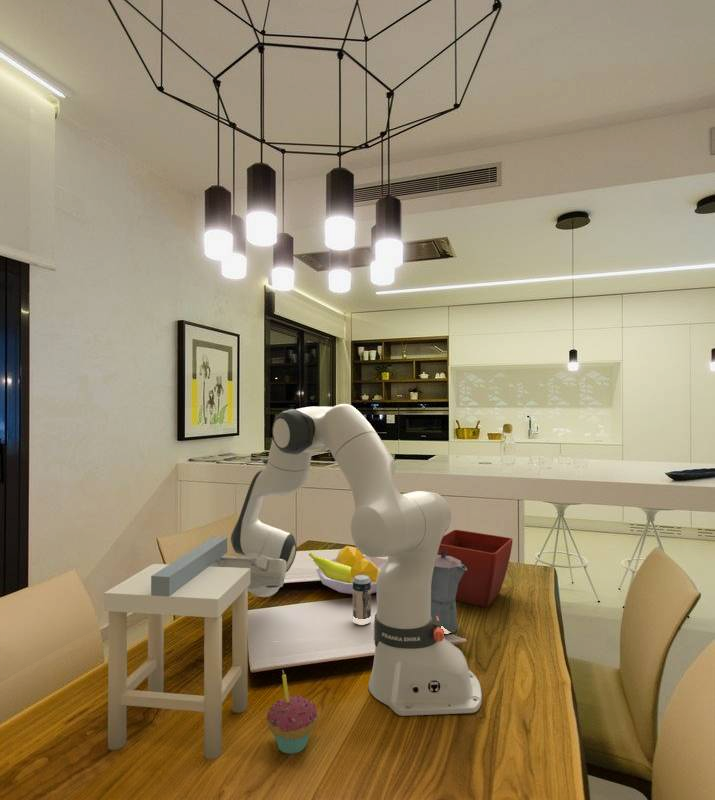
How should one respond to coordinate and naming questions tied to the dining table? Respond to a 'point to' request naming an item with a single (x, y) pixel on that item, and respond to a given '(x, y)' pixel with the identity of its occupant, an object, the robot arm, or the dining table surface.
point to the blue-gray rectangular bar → (187, 567)
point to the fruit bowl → (348, 569)
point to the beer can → (361, 596)
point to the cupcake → (292, 721)
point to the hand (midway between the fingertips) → (234, 559)
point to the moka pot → (446, 590)
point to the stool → (193, 599)
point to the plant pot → (478, 564)
